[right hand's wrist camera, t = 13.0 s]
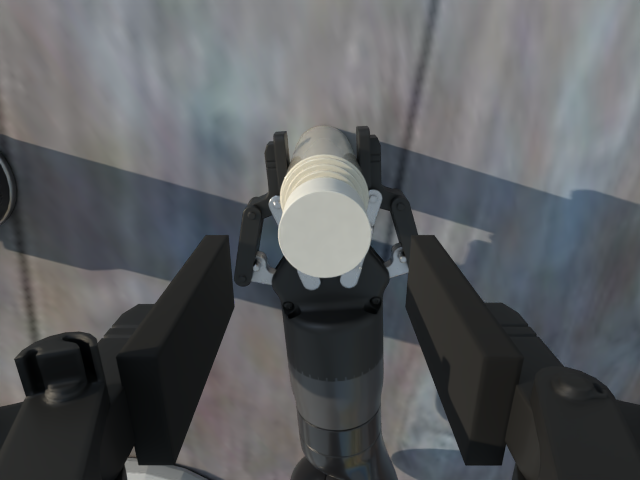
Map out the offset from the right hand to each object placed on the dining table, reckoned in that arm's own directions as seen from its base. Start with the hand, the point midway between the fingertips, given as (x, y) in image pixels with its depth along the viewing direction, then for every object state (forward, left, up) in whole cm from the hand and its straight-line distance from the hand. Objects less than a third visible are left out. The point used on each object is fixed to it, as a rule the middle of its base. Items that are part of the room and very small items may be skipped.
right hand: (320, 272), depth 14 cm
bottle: (0, 0, -21) cm, 21 cm away
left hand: (-1, -3, -15) cm, 15 cm away
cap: (0, 0, -3) cm, 3 cm away
